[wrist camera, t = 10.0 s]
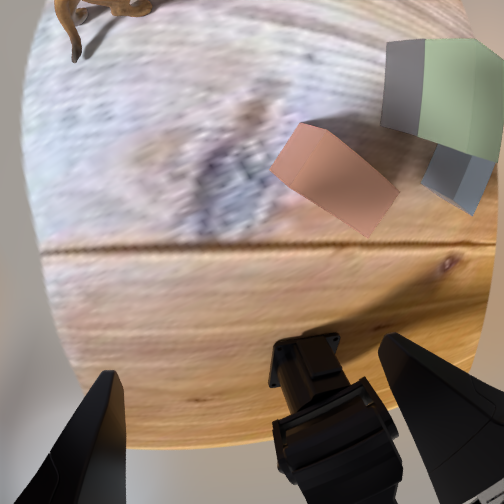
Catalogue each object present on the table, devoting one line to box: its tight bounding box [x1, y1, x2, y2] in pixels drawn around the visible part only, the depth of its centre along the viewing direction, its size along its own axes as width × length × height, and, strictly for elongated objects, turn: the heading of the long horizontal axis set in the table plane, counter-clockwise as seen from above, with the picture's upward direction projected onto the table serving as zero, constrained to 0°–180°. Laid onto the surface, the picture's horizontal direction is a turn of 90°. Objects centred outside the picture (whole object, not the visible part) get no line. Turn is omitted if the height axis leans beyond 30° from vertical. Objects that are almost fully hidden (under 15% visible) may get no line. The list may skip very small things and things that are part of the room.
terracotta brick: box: [269, 123, 400, 238], centre depth 18 cm, size 6×4×4 cm, turn 58°
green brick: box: [417, 38, 504, 163], centre depth 12 cm, size 6×4×4 cm, turn 177°
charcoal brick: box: [380, 39, 426, 136], centre depth 15 cm, size 6×4×4 cm, turn 177°
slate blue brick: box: [421, 144, 496, 216], centre depth 19 cm, size 6×4×4 cm, turn 158°
